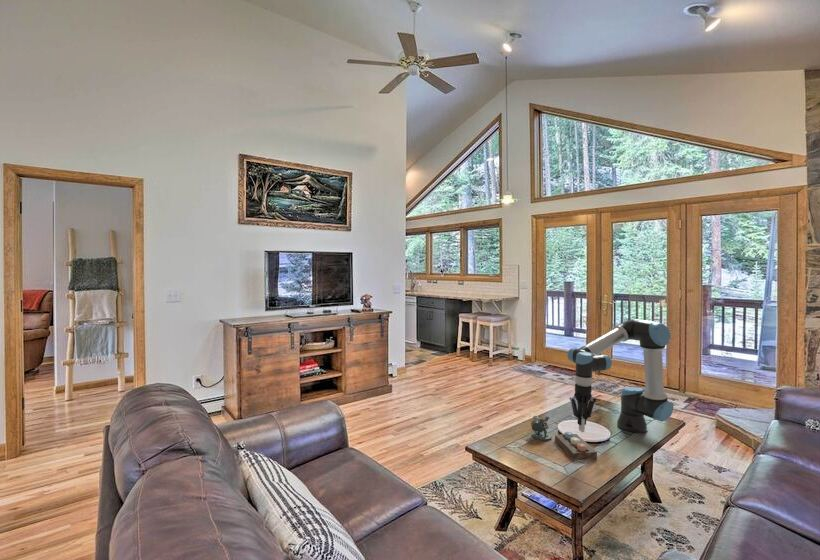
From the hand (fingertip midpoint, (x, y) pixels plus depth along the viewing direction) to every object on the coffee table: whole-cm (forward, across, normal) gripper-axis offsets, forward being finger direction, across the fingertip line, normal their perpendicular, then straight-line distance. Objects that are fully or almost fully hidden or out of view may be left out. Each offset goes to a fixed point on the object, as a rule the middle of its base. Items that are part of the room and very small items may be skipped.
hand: (581, 430), depth 199 cm
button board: (+13, -1, -7) cm, 15 cm away
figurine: (+13, +10, -23) cm, 28 cm away
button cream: (+10, -1, -7) cm, 12 cm away
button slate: (+10, -1, -13) cm, 17 cm away
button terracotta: (+11, -1, 0) cm, 11 cm away
